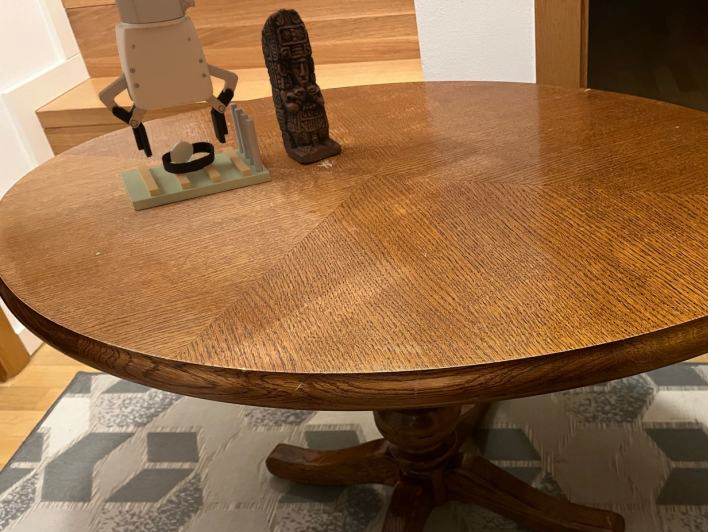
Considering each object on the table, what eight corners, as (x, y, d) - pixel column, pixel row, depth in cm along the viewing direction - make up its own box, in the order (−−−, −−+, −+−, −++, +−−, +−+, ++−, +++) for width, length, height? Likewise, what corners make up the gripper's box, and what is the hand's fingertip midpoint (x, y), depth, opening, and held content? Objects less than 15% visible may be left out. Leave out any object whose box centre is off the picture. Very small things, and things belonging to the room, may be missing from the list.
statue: (304, 166, 104) (278, 15, 93) (278, 154, 109) (250, 9, 98) (343, 153, 108) (323, 6, 97) (316, 143, 113) (294, 1, 101)
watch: (204, 155, 104) (198, 130, 102) (225, 161, 102) (219, 136, 99) (157, 173, 99) (150, 146, 97) (178, 179, 97) (171, 153, 95)
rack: (134, 210, 94) (115, 148, 89) (122, 181, 103) (103, 123, 98) (271, 180, 100) (259, 121, 96) (248, 155, 109) (237, 99, 105)
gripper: (215, -2, 95) (242, 128, 105) (72, 14, 89) (114, 152, 98) (229, 5, 89) (256, 143, 99) (77, 23, 83) (121, 168, 93)
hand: (185, 147), depth 99 cm, fingers open, 9 cm apart
